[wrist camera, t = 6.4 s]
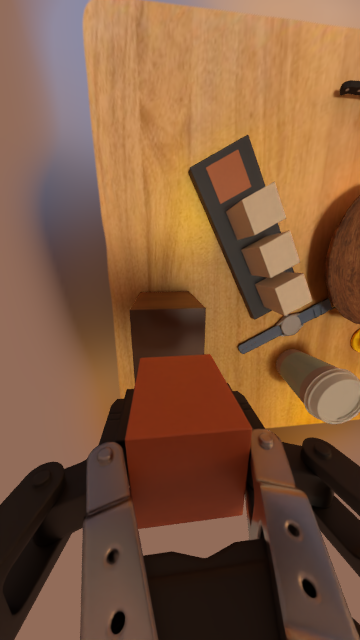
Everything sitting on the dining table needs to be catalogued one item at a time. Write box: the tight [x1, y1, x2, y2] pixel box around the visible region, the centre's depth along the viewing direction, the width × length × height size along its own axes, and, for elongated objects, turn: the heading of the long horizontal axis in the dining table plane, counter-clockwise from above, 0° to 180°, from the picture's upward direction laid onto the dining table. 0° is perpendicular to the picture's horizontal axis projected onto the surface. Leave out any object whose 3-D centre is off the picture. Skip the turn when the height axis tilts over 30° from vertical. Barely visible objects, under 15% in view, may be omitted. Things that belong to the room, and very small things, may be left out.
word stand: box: [130, 291, 206, 383], centre depth 27 cm, size 18×8×19 cm, turn 0°
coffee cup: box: [276, 349, 360, 424], centre depth 34 cm, size 8×8×12 cm
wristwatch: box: [239, 298, 336, 354], centre depth 37 cm, size 4×20×1 cm, turn 118°
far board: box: [189, 135, 312, 320], centre depth 29 cm, size 9×25×8 cm, turn 28°
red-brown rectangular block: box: [125, 354, 252, 529], centre depth 10 cm, size 4×4×6 cm
